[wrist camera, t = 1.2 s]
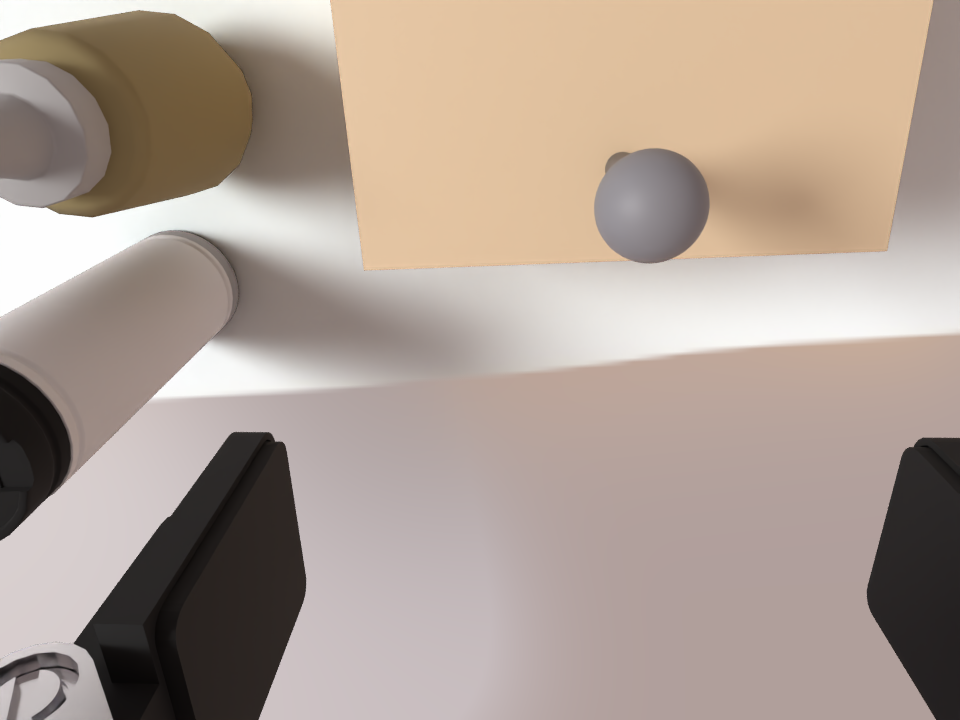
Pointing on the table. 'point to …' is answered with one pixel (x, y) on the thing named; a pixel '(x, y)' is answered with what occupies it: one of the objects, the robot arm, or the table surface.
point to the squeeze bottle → (118, 113)
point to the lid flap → (625, 127)
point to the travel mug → (100, 357)
